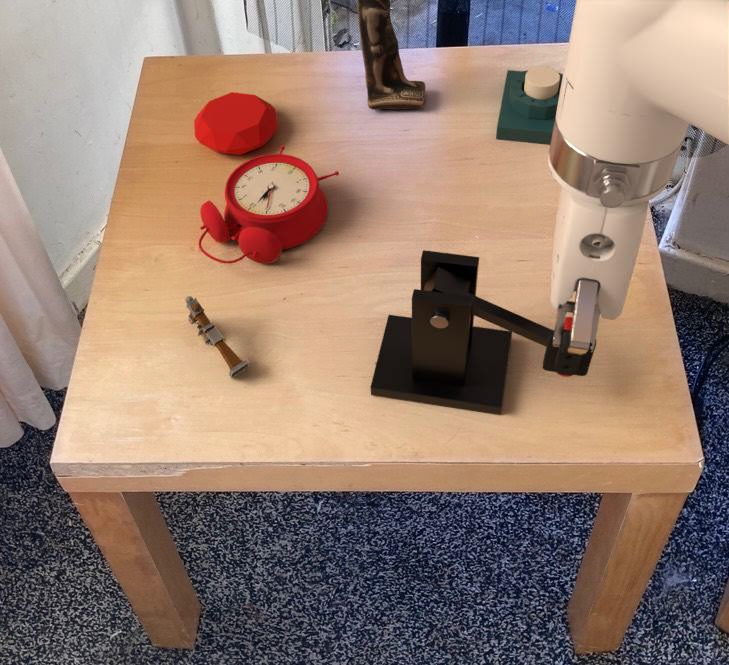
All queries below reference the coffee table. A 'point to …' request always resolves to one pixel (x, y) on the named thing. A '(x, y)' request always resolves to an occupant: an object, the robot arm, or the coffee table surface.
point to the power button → (541, 82)
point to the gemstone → (235, 123)
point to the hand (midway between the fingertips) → (568, 318)
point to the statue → (385, 60)
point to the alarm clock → (268, 207)
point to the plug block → (525, 112)
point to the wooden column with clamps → (214, 337)
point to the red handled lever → (491, 308)
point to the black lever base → (443, 347)
